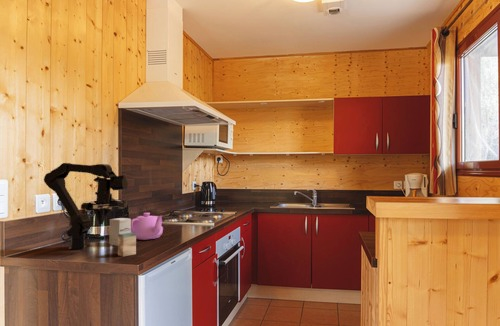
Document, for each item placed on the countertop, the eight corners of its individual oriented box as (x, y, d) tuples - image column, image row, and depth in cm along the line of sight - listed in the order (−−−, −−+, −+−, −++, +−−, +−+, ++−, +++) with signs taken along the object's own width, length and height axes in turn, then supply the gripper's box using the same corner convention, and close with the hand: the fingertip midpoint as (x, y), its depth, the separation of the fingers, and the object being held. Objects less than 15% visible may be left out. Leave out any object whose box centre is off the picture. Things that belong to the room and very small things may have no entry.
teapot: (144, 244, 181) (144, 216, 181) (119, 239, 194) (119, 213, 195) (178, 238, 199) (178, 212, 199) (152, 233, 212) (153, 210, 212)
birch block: (118, 254, 158) (118, 234, 158) (130, 252, 163) (130, 232, 163) (123, 256, 155) (123, 235, 155) (135, 254, 160) (136, 233, 160)
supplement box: (118, 246, 176) (119, 220, 176) (108, 244, 180) (109, 219, 180) (130, 243, 182) (131, 218, 183) (121, 242, 186) (121, 217, 186)
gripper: (131, 192, 175) (129, 225, 171) (96, 195, 179) (93, 227, 175) (118, 188, 165) (115, 222, 160) (81, 190, 168) (78, 224, 164)
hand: (101, 224), depth 165 cm, fingers closed
